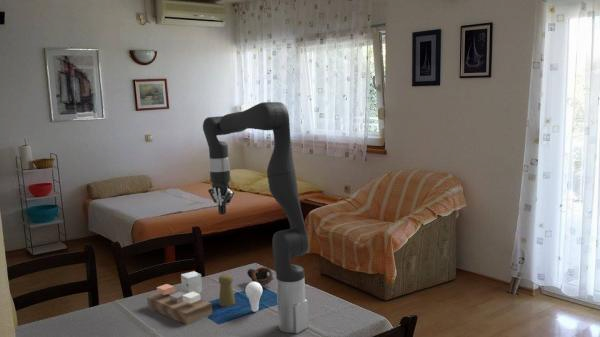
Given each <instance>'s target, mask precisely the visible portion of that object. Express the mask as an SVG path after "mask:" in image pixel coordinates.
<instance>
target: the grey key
mask: <svg viewBox="0 0 600 337" xmlns="http://www.w3.org/2000/svg"><path fill="white" fill-rule="evenodd" d="M183 295H185V293H182V291H181V292H177V293H174V294H172V295H170V301H173V302H175V303H180V302H182V301H183Z"/></svg>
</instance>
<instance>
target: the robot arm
mask: <svg viewBox="0 0 600 337" xmlns="http://www.w3.org/2000/svg"><path fill="white" fill-rule="evenodd" d="M247 129H251V130H252V129H253V130H261V131H272V134H273V140H274V144H273V151H272V153H271V156H270V160H269V162H268V165H267V171H266V174H267V175H266V176H267V181H268V189H269V193H271V195H272V196H271V197H273V198H274V200H275V201H276V203H277V204H278V205H279V206H280V207H281V208H282V210H283V211H284V212H285V214H286V216H287V219H288V222H289V228H288V229H283V230H279V231H276V232H274V234H273V236H272V241H271V242H272V253H273V264H274V271H275V276H276V296H277V300H276V301H277V319H278V329H279V330H280V331H282V332H283V333H288V334H295V335H297V334H299V333H301V332H303V331H304V330H306V329H308V328H309V300H308V299H306V286H305V269H304V267H303V266H300V265H298V264H293V263H292V262H291V258H297V257H300V256H301V257H302V256H304V255H306V254H307V253H308V251H309V247H310V246H309V245H310V244H309V237H308V232H307V228H306V225H305V220H304V216H303V212H302V208H301V202H300V194H299V189H298V181H297V175H296V169H295V165H294V164H295V163H294V159H293V158H294V157H293V152H292V141H291V139H292V138H291V125H290V116H289V111H288V108H287V106H286V104H284V103H283V102H278V101H275V102H274V101H267V102H266V101H265V102H260V103H258V104H255V105H252V106H251V107H250V108H247V109H244V110H242V111H237V112H231V113H227V114H225V115H222V116H219V115H218V116H208V117H206V118H205V119H204V120H203V123H202V131H203V134H204V137H205V139H206V143H207V146H208V152H209V154H208V155H209V163H208V164H209V177H210V178H209V180H210V183H211V188H209V189H208V190H207V192H208V193H209V195H210V197H211V199H212V201H213V203H215V204H216V205H217V207H218V208H217V209H218V215H222V216H223V215H226V213H227V206H226V205H227V204H230V203H231V201H232V199H233V196H234V194H235V191H234V190H231V189H230V185H229V183H230V182H231V169H230V168H231V167H230V161H229V160H230V159H229V147H228V143H227V142H226V141H221V140H219V139H218V136H225V135H226V136H227V135H230V134H235V133H240V132H243V131H246V130H247Z"/></svg>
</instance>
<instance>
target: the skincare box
mask: <svg viewBox="0 0 600 337" xmlns="http://www.w3.org/2000/svg"><path fill="white" fill-rule="evenodd" d="M180 279H181V280H180V281H181V282H180V283H181V292H183V293H186V294H187V293H190V292H196V293H198V294H201V293H203V286H202V285H203V284H202V274H201V273H198V272H196V271H195V270H193V271H190V272H185V273H181V274H180Z"/></svg>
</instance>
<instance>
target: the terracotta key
mask: <svg viewBox="0 0 600 337" xmlns="http://www.w3.org/2000/svg"><path fill="white" fill-rule="evenodd" d="M174 289H175V286H174V285H171V284H169V283H166V284H163V285H160V286H157V287H156V294H157V293H160V294H162V295H166V294H169V293H171V292H174Z"/></svg>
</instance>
